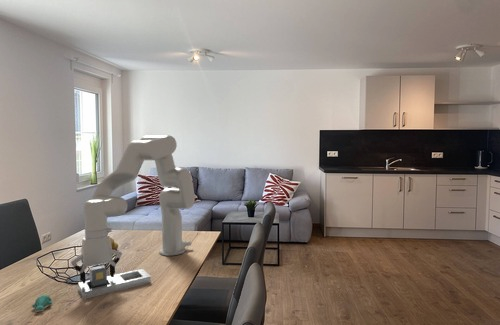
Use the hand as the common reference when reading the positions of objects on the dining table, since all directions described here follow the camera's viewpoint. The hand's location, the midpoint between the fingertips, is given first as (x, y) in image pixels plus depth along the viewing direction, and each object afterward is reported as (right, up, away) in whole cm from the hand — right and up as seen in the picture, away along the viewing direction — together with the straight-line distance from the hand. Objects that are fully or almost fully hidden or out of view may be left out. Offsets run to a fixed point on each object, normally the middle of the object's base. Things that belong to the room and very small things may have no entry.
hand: (98, 279), depth 127 cm
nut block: (0, -4, 0) cm, 4 cm away
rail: (+5, -4, +4) cm, 7 cm away
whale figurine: (-13, -6, -13) cm, 19 cm away
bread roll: (-16, -2, +44) cm, 47 cm away
